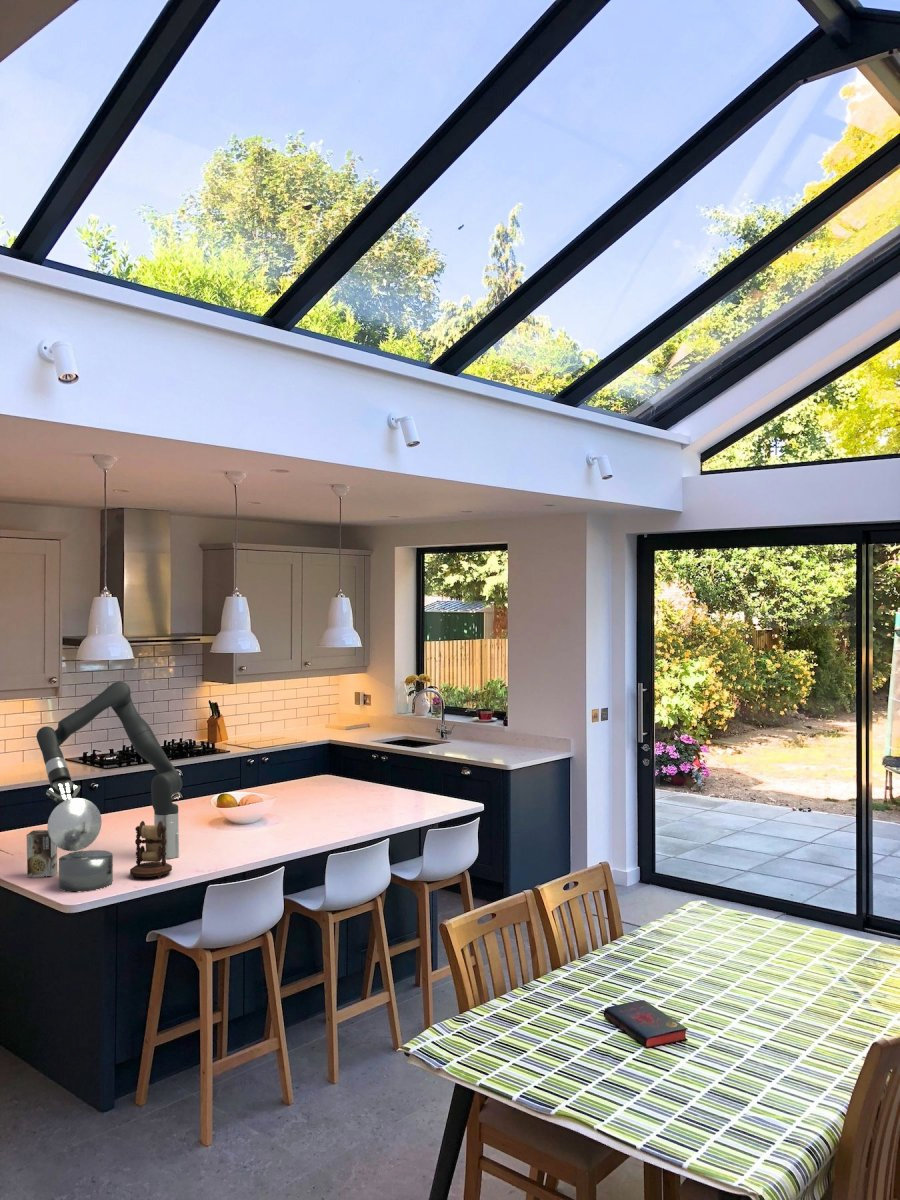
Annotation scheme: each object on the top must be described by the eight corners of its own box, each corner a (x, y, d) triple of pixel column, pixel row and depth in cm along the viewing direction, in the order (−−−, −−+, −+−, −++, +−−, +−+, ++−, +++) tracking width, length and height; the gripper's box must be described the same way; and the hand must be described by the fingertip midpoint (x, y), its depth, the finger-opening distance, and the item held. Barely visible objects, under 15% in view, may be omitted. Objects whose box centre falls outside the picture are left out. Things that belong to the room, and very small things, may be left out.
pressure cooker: (50, 883, 344) (50, 855, 345) (100, 873, 356) (100, 847, 356) (69, 895, 330) (69, 866, 330) (120, 885, 341) (120, 857, 341)
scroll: (177, 869, 361) (176, 816, 361) (164, 880, 346) (163, 825, 346) (138, 869, 362) (138, 816, 362) (123, 880, 347) (123, 825, 347)
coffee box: (58, 872, 359) (57, 829, 359) (51, 877, 352) (51, 833, 352) (33, 873, 358) (33, 829, 358) (26, 877, 352) (26, 833, 352)
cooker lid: (49, 855, 344) (47, 854, 346) (102, 846, 356) (99, 845, 358) (47, 801, 345) (45, 801, 347) (100, 794, 357) (97, 794, 360)
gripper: (73, 776, 371) (84, 813, 362) (37, 780, 363) (48, 818, 353) (77, 764, 367) (89, 801, 358) (42, 768, 359) (53, 806, 349)
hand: (69, 809), depth 356 cm, fingers closed
